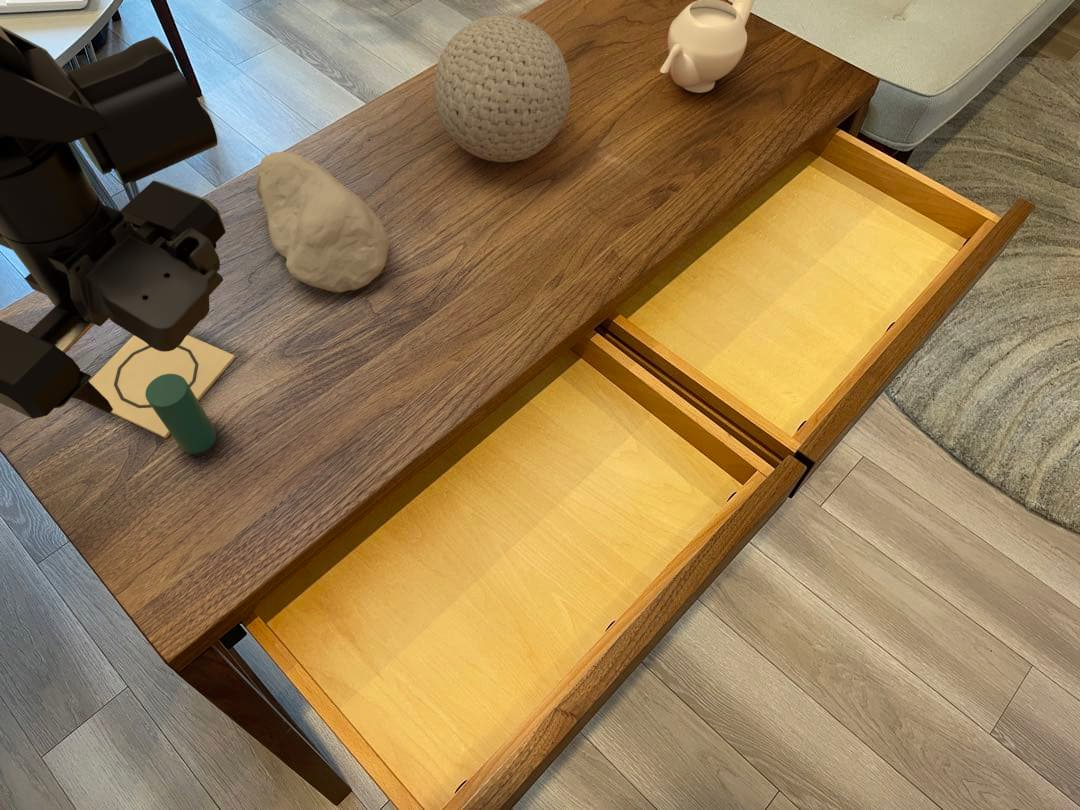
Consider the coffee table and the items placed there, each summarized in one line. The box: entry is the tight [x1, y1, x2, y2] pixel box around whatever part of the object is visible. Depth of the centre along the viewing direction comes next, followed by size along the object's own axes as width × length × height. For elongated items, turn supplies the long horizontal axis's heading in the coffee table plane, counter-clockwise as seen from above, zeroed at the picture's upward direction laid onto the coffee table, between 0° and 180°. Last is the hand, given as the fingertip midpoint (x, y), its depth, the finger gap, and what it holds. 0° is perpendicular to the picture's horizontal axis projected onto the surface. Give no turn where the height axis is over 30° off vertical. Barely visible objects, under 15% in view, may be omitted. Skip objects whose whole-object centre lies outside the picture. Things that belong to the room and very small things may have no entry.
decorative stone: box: [255, 151, 391, 293], centre depth 80 cm, size 17×10×10 cm
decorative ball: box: [433, 14, 572, 163], centre depth 86 cm, size 15×15×15 cm
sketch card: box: [88, 334, 236, 439], centre depth 73 cm, size 10×10×1 cm
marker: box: [145, 374, 217, 457], centre depth 66 cm, size 3×3×8 cm
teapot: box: [659, 0, 755, 94], centre depth 97 cm, size 10×20×9 cm, turn 140°
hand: (149, 363), depth 59 cm, fingers open, 9 cm apart
